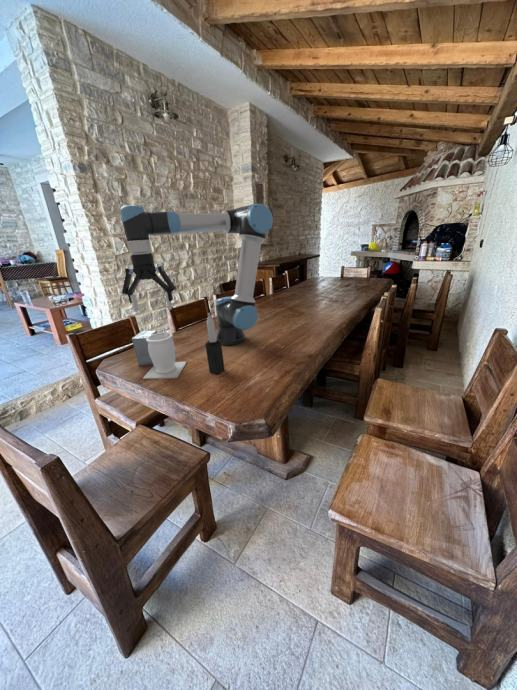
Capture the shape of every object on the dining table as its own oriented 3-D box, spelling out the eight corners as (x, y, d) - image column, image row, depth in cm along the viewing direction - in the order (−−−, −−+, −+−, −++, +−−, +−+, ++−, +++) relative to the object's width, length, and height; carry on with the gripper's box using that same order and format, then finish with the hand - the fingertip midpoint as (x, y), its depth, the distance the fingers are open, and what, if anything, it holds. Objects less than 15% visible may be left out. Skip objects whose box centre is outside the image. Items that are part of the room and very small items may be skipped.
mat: (186, 362, 124) (186, 361, 124) (176, 378, 111) (176, 376, 111) (156, 363, 125) (156, 362, 125) (143, 379, 112) (142, 377, 112)
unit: (163, 355, 133) (157, 330, 129) (154, 364, 124) (148, 338, 119) (147, 356, 134) (141, 331, 129) (138, 365, 125) (131, 338, 120)
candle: (217, 374, 112) (209, 315, 102) (208, 372, 114) (199, 314, 105) (225, 369, 115) (218, 311, 106) (216, 367, 118) (208, 310, 109)
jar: (171, 375, 112) (164, 341, 106) (148, 374, 114) (140, 340, 109) (182, 364, 122) (177, 332, 116) (161, 363, 124) (154, 331, 118)
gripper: (177, 250, 103) (187, 305, 111) (113, 254, 104) (127, 309, 113) (171, 251, 96) (181, 310, 104) (102, 256, 98) (117, 314, 106)
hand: (153, 310), depth 108 cm, fingers open, 13 cm apart
